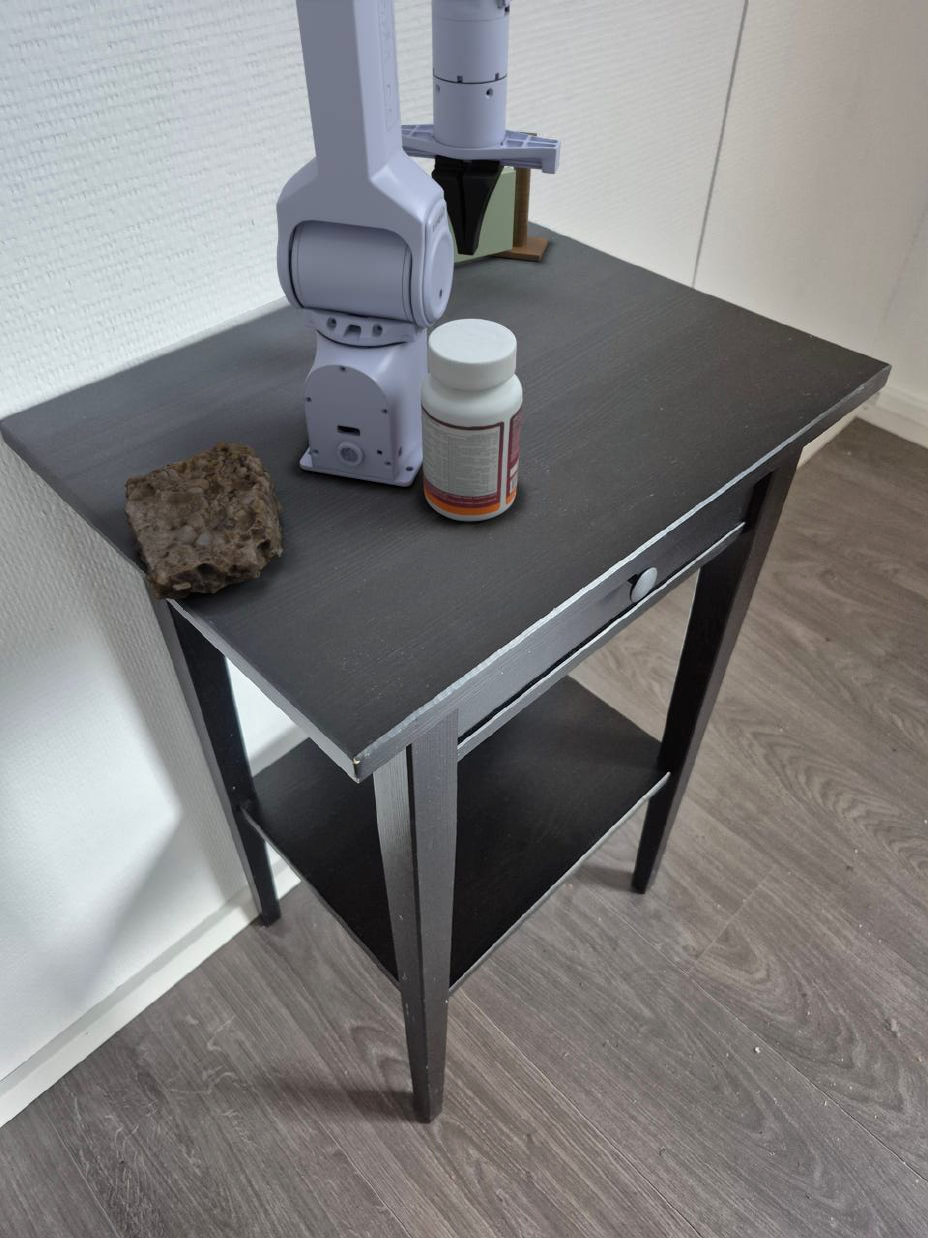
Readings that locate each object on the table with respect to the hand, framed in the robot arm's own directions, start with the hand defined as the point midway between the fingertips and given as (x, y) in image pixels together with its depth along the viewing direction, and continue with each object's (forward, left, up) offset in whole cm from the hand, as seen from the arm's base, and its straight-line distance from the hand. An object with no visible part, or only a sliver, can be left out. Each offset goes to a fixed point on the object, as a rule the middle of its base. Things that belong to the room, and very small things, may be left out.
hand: (468, 250), depth 77 cm
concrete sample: (-38, +6, +1) cm, 39 cm away
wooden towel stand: (+9, -3, -3) cm, 10 cm away
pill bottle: (-29, -8, -4) cm, 30 cm away
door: (+3, +2, -3) cm, 4 cm away
